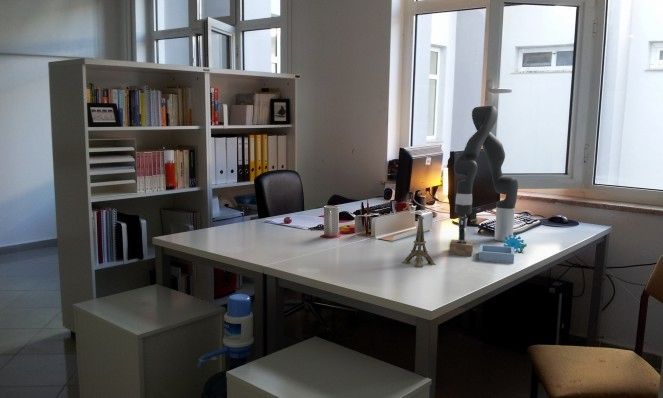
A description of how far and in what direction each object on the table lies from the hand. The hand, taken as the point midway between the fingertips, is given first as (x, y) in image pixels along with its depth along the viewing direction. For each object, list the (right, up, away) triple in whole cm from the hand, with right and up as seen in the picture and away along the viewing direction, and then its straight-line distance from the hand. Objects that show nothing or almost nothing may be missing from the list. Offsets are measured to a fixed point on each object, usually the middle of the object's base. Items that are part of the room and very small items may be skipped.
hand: (461, 239), depth 268 cm
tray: (+14, -8, -7) cm, 18 cm away
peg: (0, -7, +1) cm, 7 cm away
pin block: (0, -7, +1) cm, 7 cm away
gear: (+27, -7, +7) cm, 28 cm away
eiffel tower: (-23, -10, -20) cm, 32 cm away
